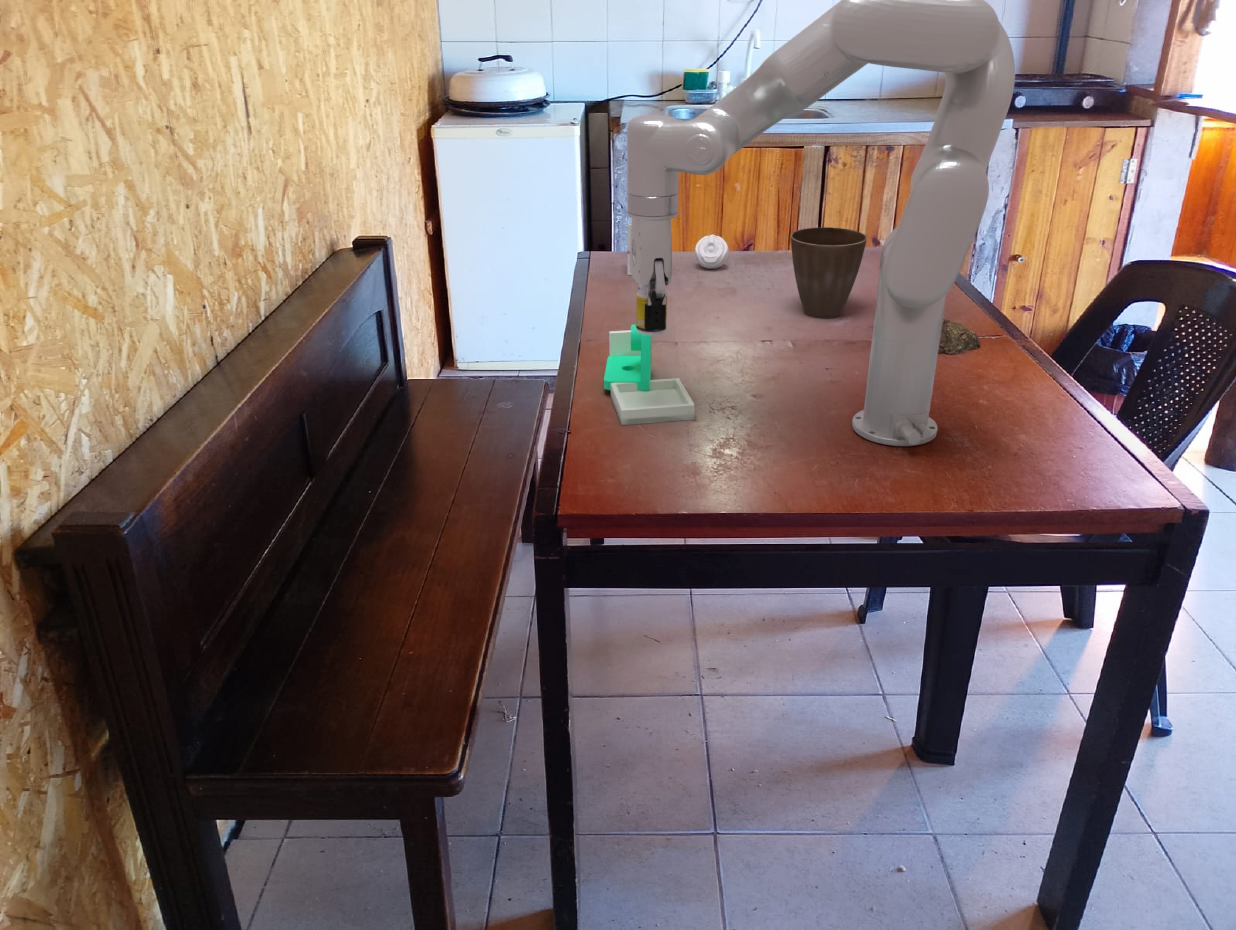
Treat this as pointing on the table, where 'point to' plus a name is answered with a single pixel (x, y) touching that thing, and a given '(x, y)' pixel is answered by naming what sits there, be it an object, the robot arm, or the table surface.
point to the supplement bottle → (640, 311)
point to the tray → (652, 402)
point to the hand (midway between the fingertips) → (651, 322)
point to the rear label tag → (621, 344)
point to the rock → (956, 339)
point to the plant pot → (826, 267)
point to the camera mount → (631, 364)
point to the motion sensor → (711, 251)
